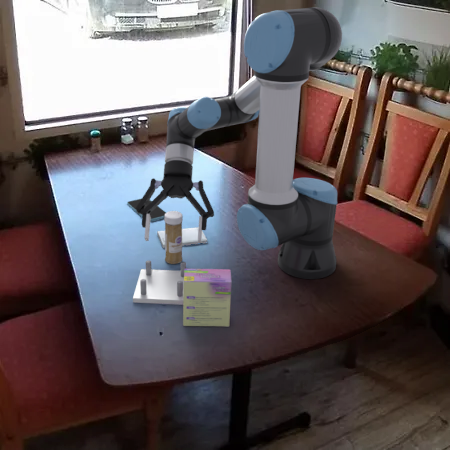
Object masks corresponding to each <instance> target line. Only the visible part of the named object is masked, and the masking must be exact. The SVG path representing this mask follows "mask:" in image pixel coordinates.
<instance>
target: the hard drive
mask: <svg viewBox="0 0 450 450" xmlns="http://www.w3.org/2000/svg"><path fill="white" fill-rule="evenodd" d="M198 229H199V226H198V227H189V228H182V247H183V246H184V245H186V246H192V245H191V244H195V245H199V244H198ZM203 231H204V230H202V237H201V243H203V244H207V243H208V238H207V237H206V235H205V232H203ZM156 234H157V237H158V240H159V242H160V245H161V247H162V249H165V230H159V231H157V233H156ZM206 242H207V243H206Z"/></svg>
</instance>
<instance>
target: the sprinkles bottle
mask: <svg viewBox="0 0 450 450" xmlns="http://www.w3.org/2000/svg"><path fill="white" fill-rule="evenodd" d="M183 217H184V216H183V213H182V212H180V211H178V210H172V211H171V210H170V211H166V213H165V217H164V219H163V220H164V225H165V226H164V227H165V228H164V231H165V248H164V250H165V259H164V261H165V262H166V263H168V264H169V265H170V264H171V265H177V264H181V262H183V246H182V229H183Z"/></svg>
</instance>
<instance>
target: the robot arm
mask: <svg viewBox="0 0 450 450" xmlns="http://www.w3.org/2000/svg"><path fill="white" fill-rule="evenodd" d="M342 40H343V31H342V27H341V24H340V22H339V20H338V19H337V17H336V16H335V15H334V13H332V12H330V11H329V10H327V9H325V8H321V7H319V6H318V7H316V6H315V7H314V6H312V7H306V8H304V7H303V8H296V9H294V8H293V9H282V10H281V9H280V10H279V9H278V10H277V9H276V10H272V11H269V12H265V13H262V14H259V15H258V16H257V17H255V18H254V20H253V21H251V23H250V24H249V26H248V27H247V30H246V32H245V35H244V40H243V54H244V56H245V58H247V59H246V62H247V65H248V66H249V67H250V68H251V69H252V70H253V71H254V72H253V73H254V74H253V76H252V77H251V78H250V79H249V80H248V81H246V82H245V83H244V84H243V85H242V86H240V87H239V89H237V90H236V91H235V92H234V93H232V94H231V95H229V96H225V97H220V98H215V99H214V98H211V97H209V96H201V97H199V98H198V99H196V100H195V101H193V102H192V103H190V105H189V106H188V107H184V106H179V107H176V108H173V109H171V110H170V111H169V114H168V119H167V122H166V123H167V124H166V125H167V130H166V131H167V132H166V144H165V155H164V162H165V163H164V168H163V178H162V180H157V179H156V178H151V180H150V184H149V186H148V188H147V190H146V191H145V193H144V195H143V196H142V197H141V198H140V199H141V201H140V202H139V204H138V205H137V207H136V211H137V213H138V214H142V217H141V226H142V228H144V229H145V230H144V241H146V242H149V239H150V231H151V230H150V229H151V222H150V220H151V217H150V213H151V212H152V211H153V210H154V209H155V208H156V207H157V206H159V205H160V204H161V203H162V202H164V200H166V199H167V198H168V197H169V198H170V199H175V198H176V199H180V200H181V199H183V198H186V200H187V201H189V203H190V204H191V206H192V207H193V208H194V209H195V210H196V212H197V213H198V214H199V217H198V218H199V219H198V227H199V229H198V243H201V237H202V231H206V230H207V226H208V225H207V223H208V218H213V217H215V211H214V208H213V206H212V204H211V202H210V200H209V198H208V196H207V194H206V191H205V190H204V182H203V180H198V181H197V182H194V181H193V170H194V169H193V164H194V151H195V141H196V138H198V137H199V136H201V135H202V134H203V133H205V132H208V131H211V130H215V129H216V130H217V129H220V128H224V127H230V126H234V125H239V124H245V123H249V122H251V121H253V120H256V119H257V118H258V129H257V147H256V149H257V150H256V167H255V184H254V185H252V186H251V187H250V188H249V189H248V193H247V203H245V204H242V205H241V206H240V208H238V210H237V212H236V223H237V228H238V230H239V232H240V234H241V236H242V238H243V239H244V241H245V242H246V243H247V244H248V245H249V246H250V247H251V248H253V249H255V250H258V251H266V250H269V249H275V248H277V247H278V246H280V249H279V251H278V254H277V265H278V267H279V268H280V269H281V271H282V272H284V273H286V274H287V275H290V276H292V277H295V278H299V279H306V280H318V279H324V278H327V277H329V276H331V275H333V273H334V272H335V270H336V267H337V256H336V253H335V248H334V247H335V246H334V244H333V243H334V242H333V234H334V228H335V220H336V212H337V206H338V190H337V188H336V187H335V186H334V185H332V184H331V183H330V182H328V181H325V180H321V179H319V178H312V177H298V178H297V177H296V178H294V169H295V158H296V147H297V146H296V145H297V135H298V122H299V111H300V100H301V87H302V85H303V84H304V83H306V82H307V81H308V80H309V77H310V71H312V72H313V71H317V70H319V69H320V68H321V67H323V66H324V65H326V64H327V63H328V62H329V61H331V59H332V58H334V57H335V56H336V55H337V53H338V51H339V50H340V48H341V45H342ZM160 187H161V188H162V190H160V192H159V194H158V195H157V196H156V197H155V198H154V199H152V200H151V198H152V197H153V195H154V193H155V192H156V190H157V189H158V188H160ZM193 189H195V190H196V191H199V196H200V198H201V200H202V201H203V204H204V206H205V208H203V207H202V205H201V204H200V203H199V201H198V200H197V199H196V198H195V197H194V195H193V194H192V190H193ZM149 200H151V201H152V202H151V203H150V204H149V205H148V206H147V207H146V208H145V206H146V204H147V203H148V201H149ZM144 208H145V209H144ZM205 209H206V211H205ZM137 213H136V214H137ZM138 214H137V215H138Z"/></svg>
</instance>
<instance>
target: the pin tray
mask: <svg viewBox="0 0 450 450" xmlns="http://www.w3.org/2000/svg"><path fill="white" fill-rule="evenodd" d="M184 269H187V262H185V261H181V262H180V270H170V269H169V270H168V269H153V268H152V261H151V260H146V261H145V268H141V269H140V272H139V276H138V280H137V283H136V287H135V289H134V294H133V297H132V303H136V304H137V303H139V304H158V305H159V304H161V305H180V306H181V305H182V306H183V289H184Z"/></svg>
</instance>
